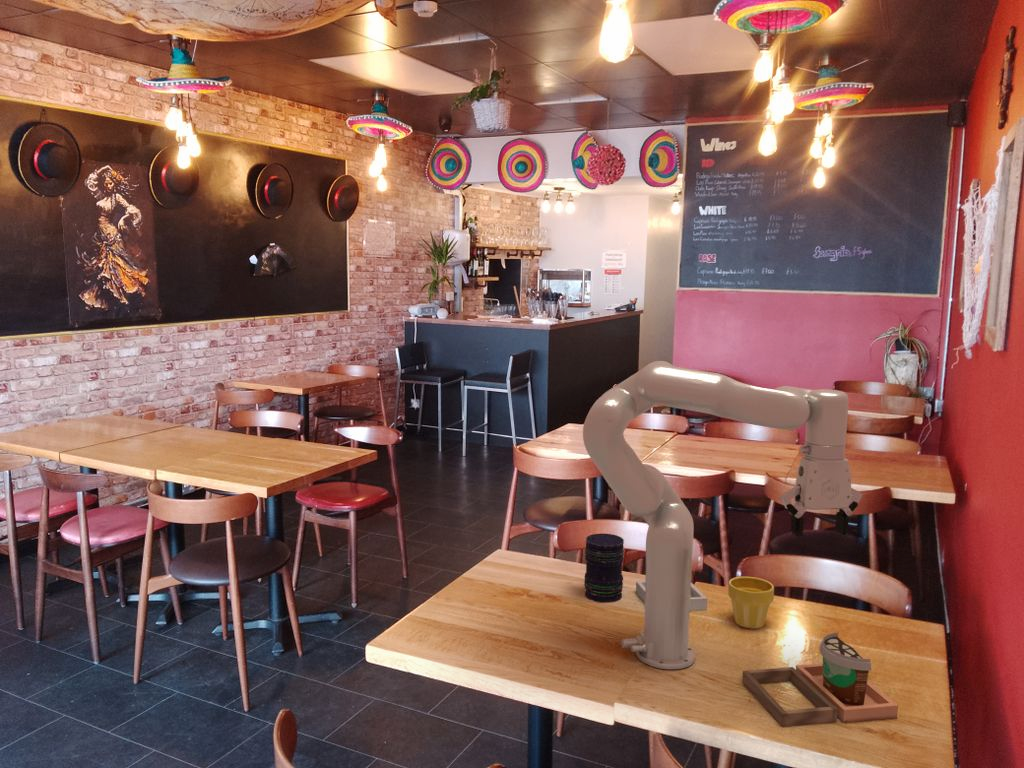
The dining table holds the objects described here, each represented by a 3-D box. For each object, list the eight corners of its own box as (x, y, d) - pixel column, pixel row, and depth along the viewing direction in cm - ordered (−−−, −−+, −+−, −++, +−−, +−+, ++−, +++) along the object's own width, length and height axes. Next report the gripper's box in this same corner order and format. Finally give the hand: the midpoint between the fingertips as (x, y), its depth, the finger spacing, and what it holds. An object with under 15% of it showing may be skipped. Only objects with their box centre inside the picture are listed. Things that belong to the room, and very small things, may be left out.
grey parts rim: (653, 613, 191) (653, 601, 190) (635, 592, 203) (636, 581, 203) (706, 609, 193) (707, 598, 193) (686, 589, 206) (687, 578, 205)
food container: (805, 679, 159) (808, 632, 157) (833, 677, 159) (836, 631, 158) (837, 712, 147) (841, 662, 145) (868, 710, 147) (871, 660, 146)
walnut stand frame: (781, 726, 142) (782, 714, 142) (742, 682, 158) (742, 670, 158) (836, 721, 144) (837, 709, 144) (792, 678, 160) (792, 667, 160)
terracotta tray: (843, 722, 144) (844, 710, 144) (795, 676, 160) (796, 665, 160) (897, 717, 146) (898, 705, 145) (844, 673, 162) (844, 661, 162)
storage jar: (624, 589, 205) (625, 535, 203) (620, 604, 195) (622, 547, 193) (586, 586, 207) (588, 532, 205) (581, 600, 198) (582, 544, 196)
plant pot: (731, 610, 193) (733, 572, 191) (774, 618, 188) (776, 580, 187) (722, 627, 183) (724, 587, 182) (768, 636, 179) (771, 595, 178)
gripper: (794, 456, 150) (788, 542, 152) (875, 454, 153) (869, 538, 155) (775, 448, 157) (770, 530, 160) (852, 446, 160) (847, 526, 163)
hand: (818, 534), depth 158 cm, fingers open, 9 cm apart
